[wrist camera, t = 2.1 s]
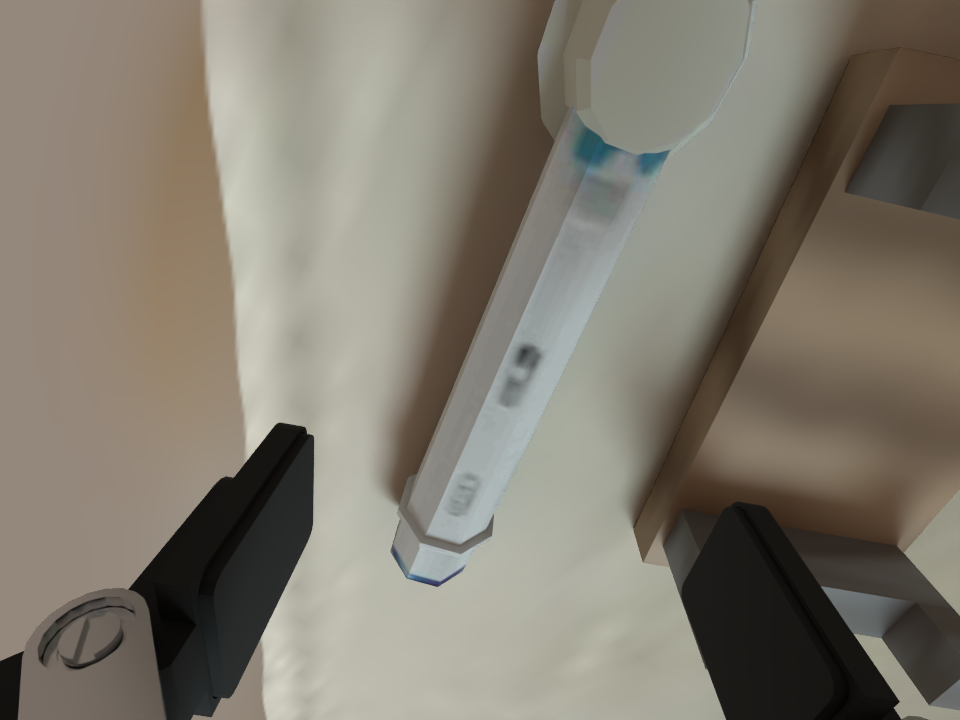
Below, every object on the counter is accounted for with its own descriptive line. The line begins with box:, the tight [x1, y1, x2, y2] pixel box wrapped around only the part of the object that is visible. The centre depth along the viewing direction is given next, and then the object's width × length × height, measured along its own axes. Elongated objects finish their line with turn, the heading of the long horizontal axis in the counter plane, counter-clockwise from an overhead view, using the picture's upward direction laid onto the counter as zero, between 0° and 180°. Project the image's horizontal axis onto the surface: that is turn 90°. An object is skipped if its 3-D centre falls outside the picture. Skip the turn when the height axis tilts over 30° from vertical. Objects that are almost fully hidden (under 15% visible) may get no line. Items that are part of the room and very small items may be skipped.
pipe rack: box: [634, 47, 960, 710], centre depth 16 cm, size 21×11×8 cm, turn 170°
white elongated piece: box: [391, 0, 757, 587], centre depth 17 cm, size 5×7×25 cm
